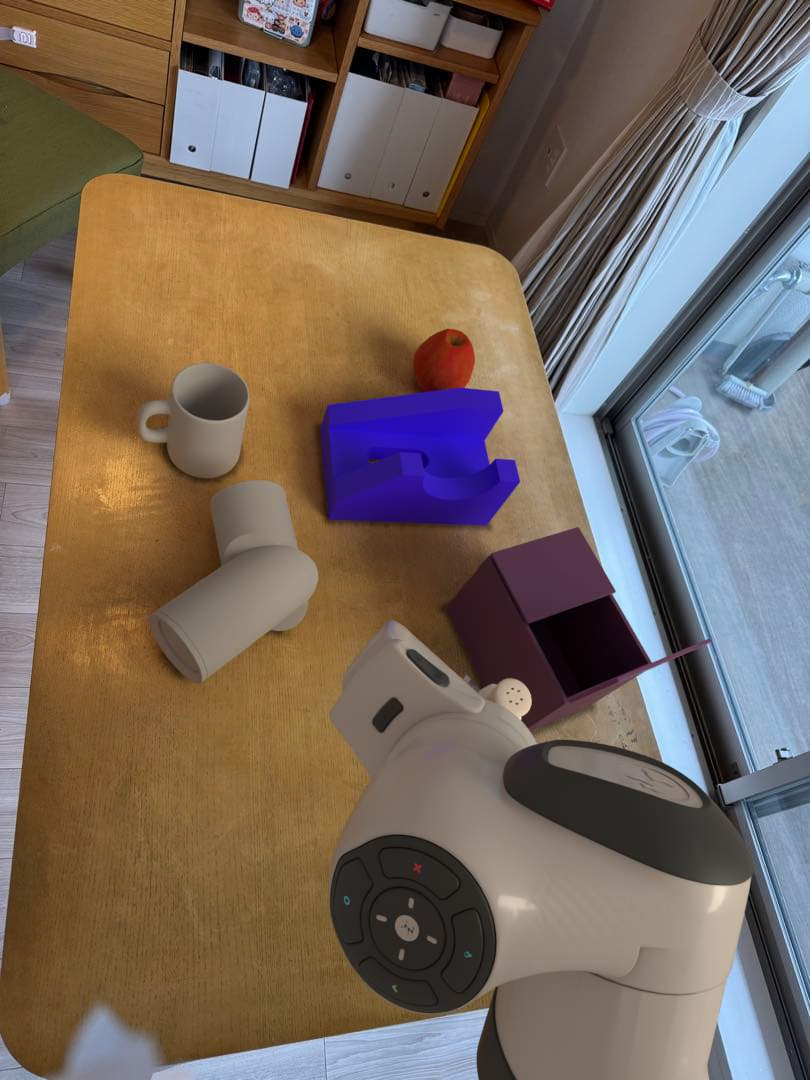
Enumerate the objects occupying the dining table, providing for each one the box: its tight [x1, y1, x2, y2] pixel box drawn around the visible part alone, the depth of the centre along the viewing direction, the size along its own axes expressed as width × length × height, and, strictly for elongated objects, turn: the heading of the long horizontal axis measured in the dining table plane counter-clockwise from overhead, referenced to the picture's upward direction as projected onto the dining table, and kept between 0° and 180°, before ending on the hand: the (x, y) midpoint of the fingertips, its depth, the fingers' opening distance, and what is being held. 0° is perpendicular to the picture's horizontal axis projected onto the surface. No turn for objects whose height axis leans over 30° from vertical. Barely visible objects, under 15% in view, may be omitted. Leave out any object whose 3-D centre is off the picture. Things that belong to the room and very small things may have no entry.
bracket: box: [319, 387, 521, 526], centre depth 96 cm, size 21×14×10 cm, turn 98°
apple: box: [412, 328, 476, 392], centre depth 105 cm, size 8×8×11 cm
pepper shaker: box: [478, 678, 532, 720], centre depth 59 cm, size 5×5×11 cm
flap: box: [569, 638, 712, 703], centre depth 74 cm, size 8×12×1 cm
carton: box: [444, 526, 653, 733], centre depth 86 cm, size 17×12×14 cm
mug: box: [136, 362, 251, 479], centre depth 88 cm, size 12×8×11 cm
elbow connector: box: [147, 479, 319, 685], centre depth 81 cm, size 18×10×20 cm
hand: (491, 710), depth 59 cm, fingers closed on pepper shaker, 4 cm apart
